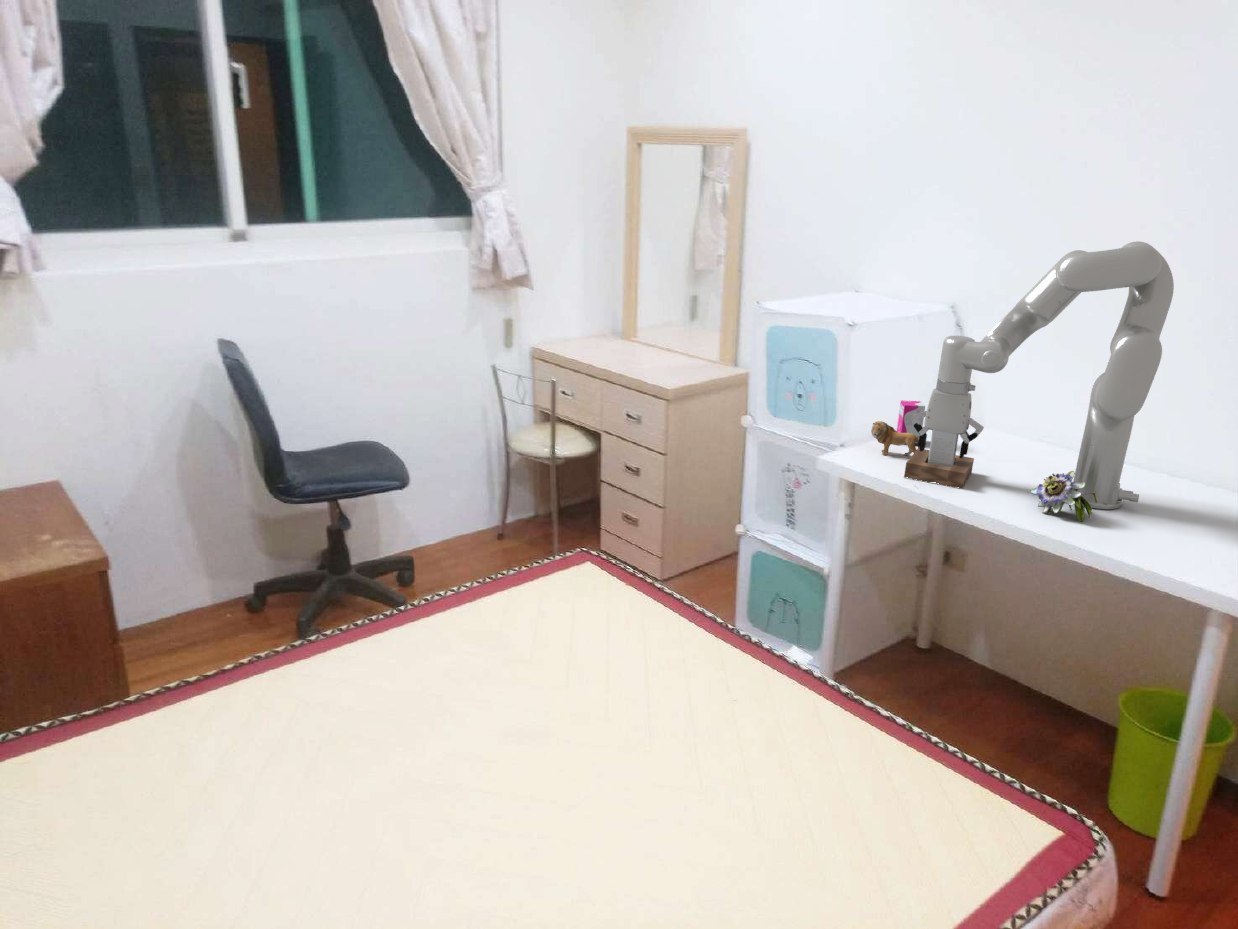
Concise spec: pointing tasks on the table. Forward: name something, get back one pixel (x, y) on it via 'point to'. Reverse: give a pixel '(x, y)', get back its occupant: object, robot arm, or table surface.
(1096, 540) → the table surface
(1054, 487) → the passion flower
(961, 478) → the holder block
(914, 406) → the supplement box
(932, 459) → the skincare box
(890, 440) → the lion figurine
